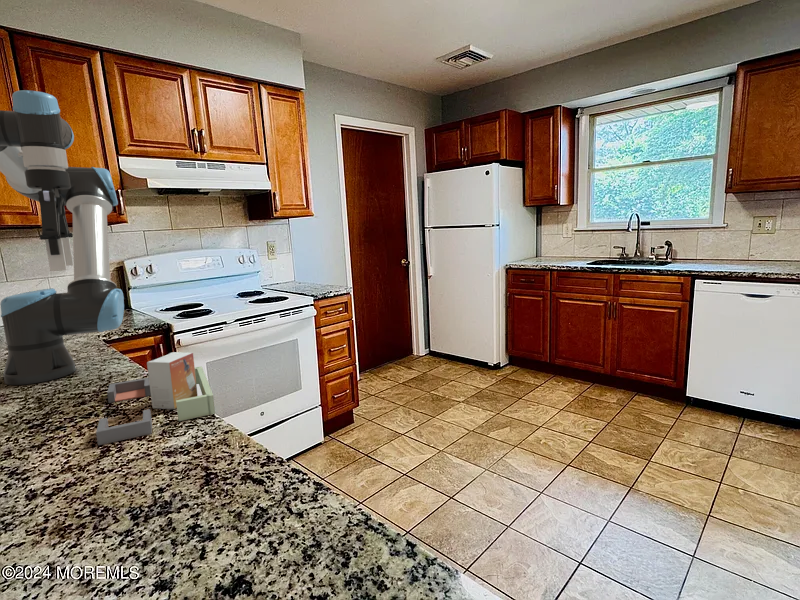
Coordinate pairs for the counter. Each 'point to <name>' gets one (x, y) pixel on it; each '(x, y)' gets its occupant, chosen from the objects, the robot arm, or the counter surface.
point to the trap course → (141, 389)
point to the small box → (171, 379)
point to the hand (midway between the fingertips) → (62, 268)
